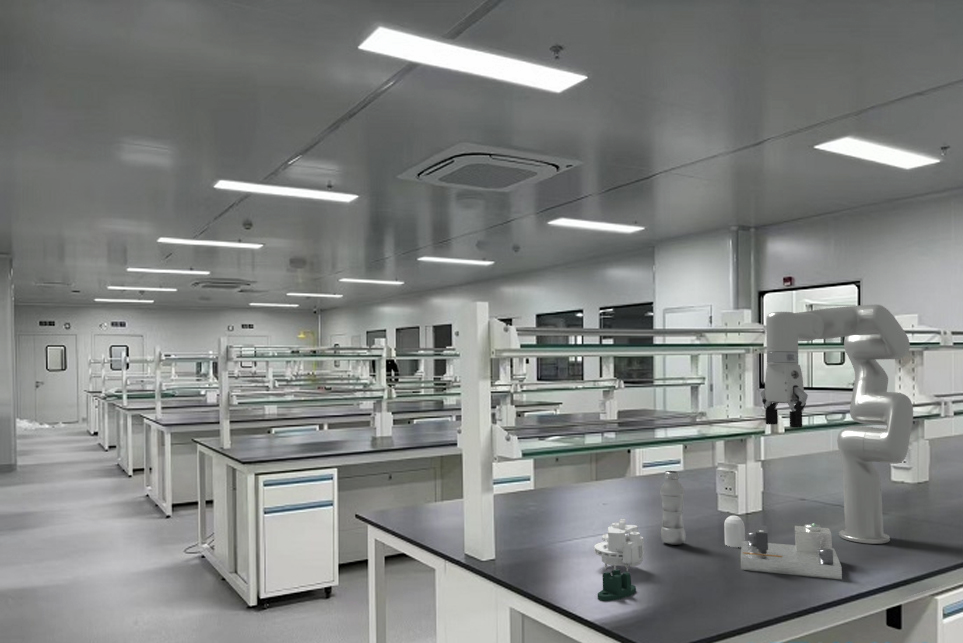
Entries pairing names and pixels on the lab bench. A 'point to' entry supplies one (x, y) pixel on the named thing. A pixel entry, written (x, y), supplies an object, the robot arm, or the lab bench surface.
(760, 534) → the block
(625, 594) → the mount
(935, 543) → the lab bench surface
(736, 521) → the capsule
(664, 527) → the plastic bottle
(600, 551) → the mechanical part
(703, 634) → the lab bench surface
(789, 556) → the levelling base
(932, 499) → the lab bench surface
